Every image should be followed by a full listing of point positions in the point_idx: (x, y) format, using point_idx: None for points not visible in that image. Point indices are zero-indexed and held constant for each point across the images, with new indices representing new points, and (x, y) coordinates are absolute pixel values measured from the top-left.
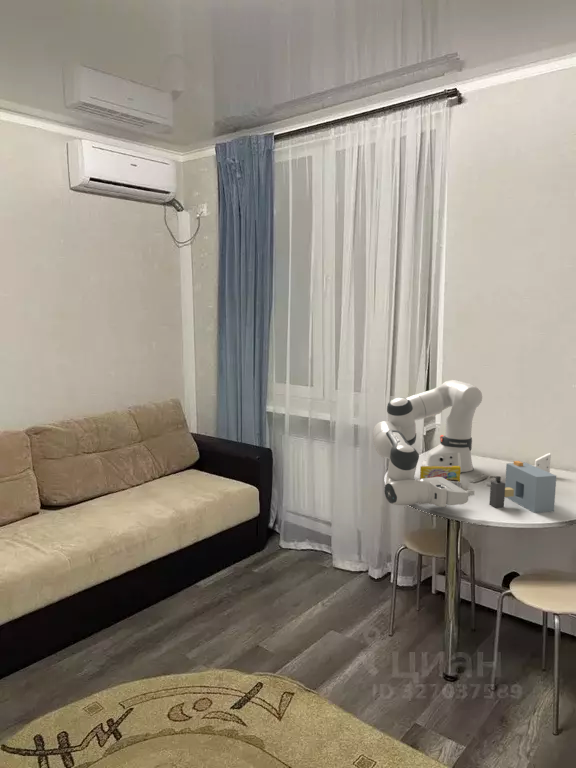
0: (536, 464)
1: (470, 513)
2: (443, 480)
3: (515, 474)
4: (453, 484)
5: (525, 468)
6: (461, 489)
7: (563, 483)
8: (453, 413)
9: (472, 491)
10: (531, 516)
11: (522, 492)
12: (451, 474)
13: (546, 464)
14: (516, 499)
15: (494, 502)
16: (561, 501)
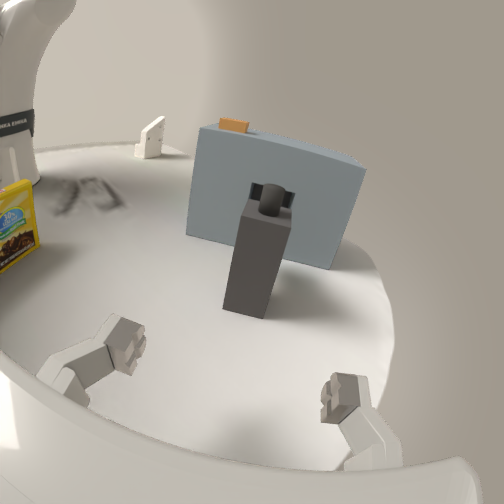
0: (146, 138)
1: (291, 450)
2: (32, 436)
3: (250, 161)
4: (224, 482)
5: (272, 138)
6: (411, 485)
7: None
8: (3, 52)
9: (364, 392)
10: (354, 290)
11: None
12: (9, 220)
13: (158, 135)
14: None
15: (261, 301)
16: None
